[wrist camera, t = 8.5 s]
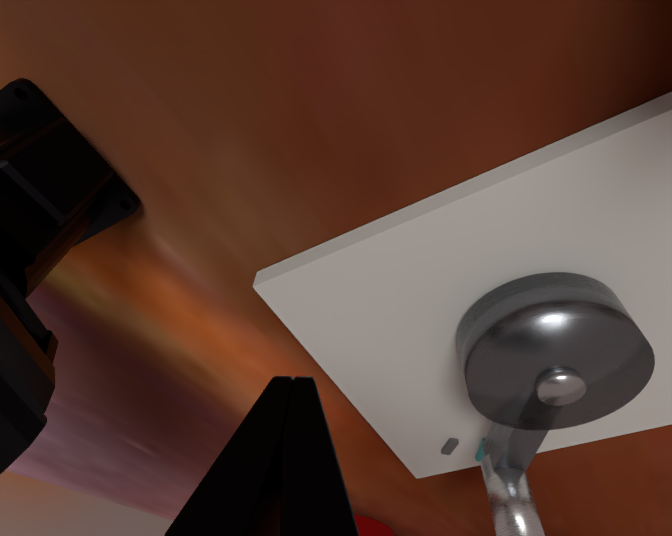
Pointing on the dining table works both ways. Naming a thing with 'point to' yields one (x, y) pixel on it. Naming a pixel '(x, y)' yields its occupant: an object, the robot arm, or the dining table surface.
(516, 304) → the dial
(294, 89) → the dining table surface
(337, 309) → the stand board
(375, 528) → the decorative ornament
